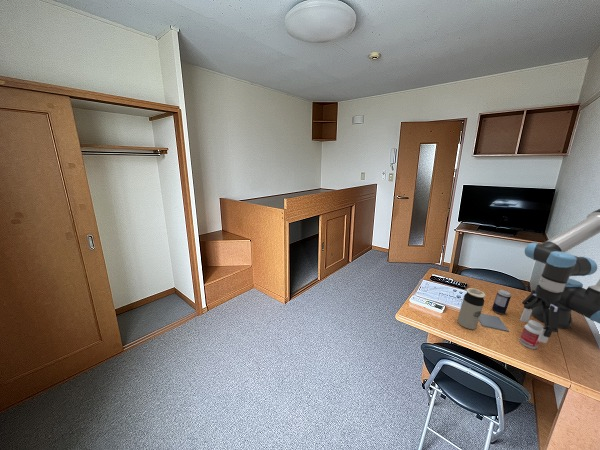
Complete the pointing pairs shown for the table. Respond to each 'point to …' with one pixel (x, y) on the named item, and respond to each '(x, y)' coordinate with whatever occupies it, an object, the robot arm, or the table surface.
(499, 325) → the coaster
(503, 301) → the beverage can
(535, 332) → the pill bottle
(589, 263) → the robot arm
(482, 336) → the table surface
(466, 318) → the travel mug
